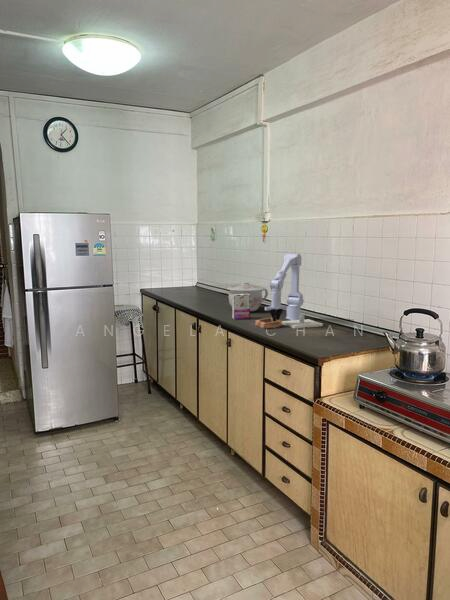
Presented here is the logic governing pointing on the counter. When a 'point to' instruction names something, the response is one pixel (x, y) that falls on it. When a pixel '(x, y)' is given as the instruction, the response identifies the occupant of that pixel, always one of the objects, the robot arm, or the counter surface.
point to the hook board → (302, 323)
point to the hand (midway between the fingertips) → (275, 321)
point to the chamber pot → (249, 289)
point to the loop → (268, 323)
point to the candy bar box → (240, 306)
